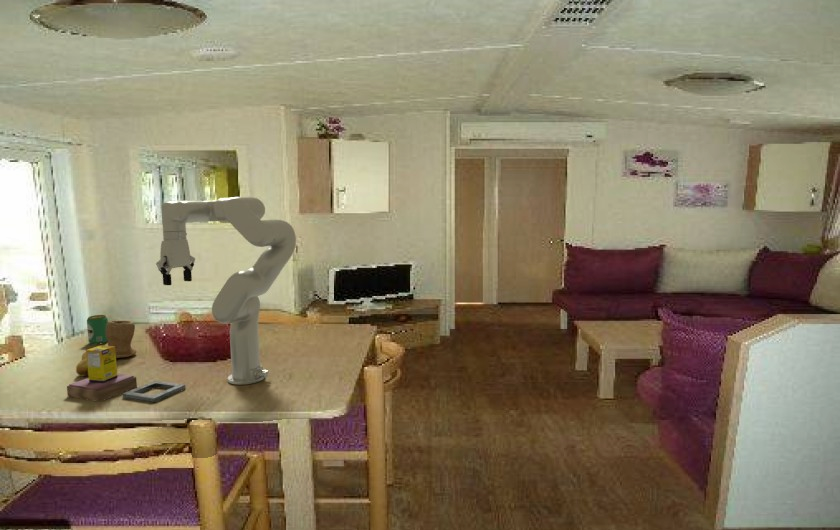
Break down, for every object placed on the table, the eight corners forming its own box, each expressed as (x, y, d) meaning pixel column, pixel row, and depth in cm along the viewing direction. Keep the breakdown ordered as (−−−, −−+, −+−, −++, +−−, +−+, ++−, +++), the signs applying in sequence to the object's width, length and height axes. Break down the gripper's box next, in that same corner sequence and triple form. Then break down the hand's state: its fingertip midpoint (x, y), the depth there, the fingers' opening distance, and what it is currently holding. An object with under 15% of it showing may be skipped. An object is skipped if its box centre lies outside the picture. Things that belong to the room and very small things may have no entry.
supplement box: (118, 377, 175) (115, 345, 173) (103, 383, 169) (100, 350, 168) (103, 376, 176) (100, 344, 175) (88, 382, 170) (85, 349, 169)
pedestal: (136, 386, 177) (136, 375, 176) (99, 401, 164) (98, 389, 163) (106, 382, 182) (105, 371, 181) (67, 396, 168) (66, 384, 168)
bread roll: (121, 370, 195) (120, 349, 194) (104, 378, 186) (103, 357, 185) (89, 369, 196) (87, 349, 195) (70, 378, 186) (68, 356, 185)
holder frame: (185, 388, 175) (185, 384, 174) (154, 403, 162) (153, 398, 162) (155, 384, 179) (155, 380, 179) (122, 398, 167) (122, 393, 166)
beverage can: (85, 343, 234) (83, 317, 232) (104, 339, 240) (102, 313, 239) (93, 345, 229) (91, 319, 228) (112, 341, 236) (110, 315, 234)
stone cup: (143, 352, 219) (140, 317, 217) (127, 360, 207) (124, 324, 205) (107, 352, 219) (104, 317, 217) (89, 361, 207) (86, 324, 205)
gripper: (184, 234, 196) (187, 279, 198) (147, 237, 180) (150, 286, 182) (200, 234, 194) (203, 280, 196) (164, 237, 178) (167, 287, 180)
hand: (177, 283), depth 189 cm, fingers open, 9 cm apart
